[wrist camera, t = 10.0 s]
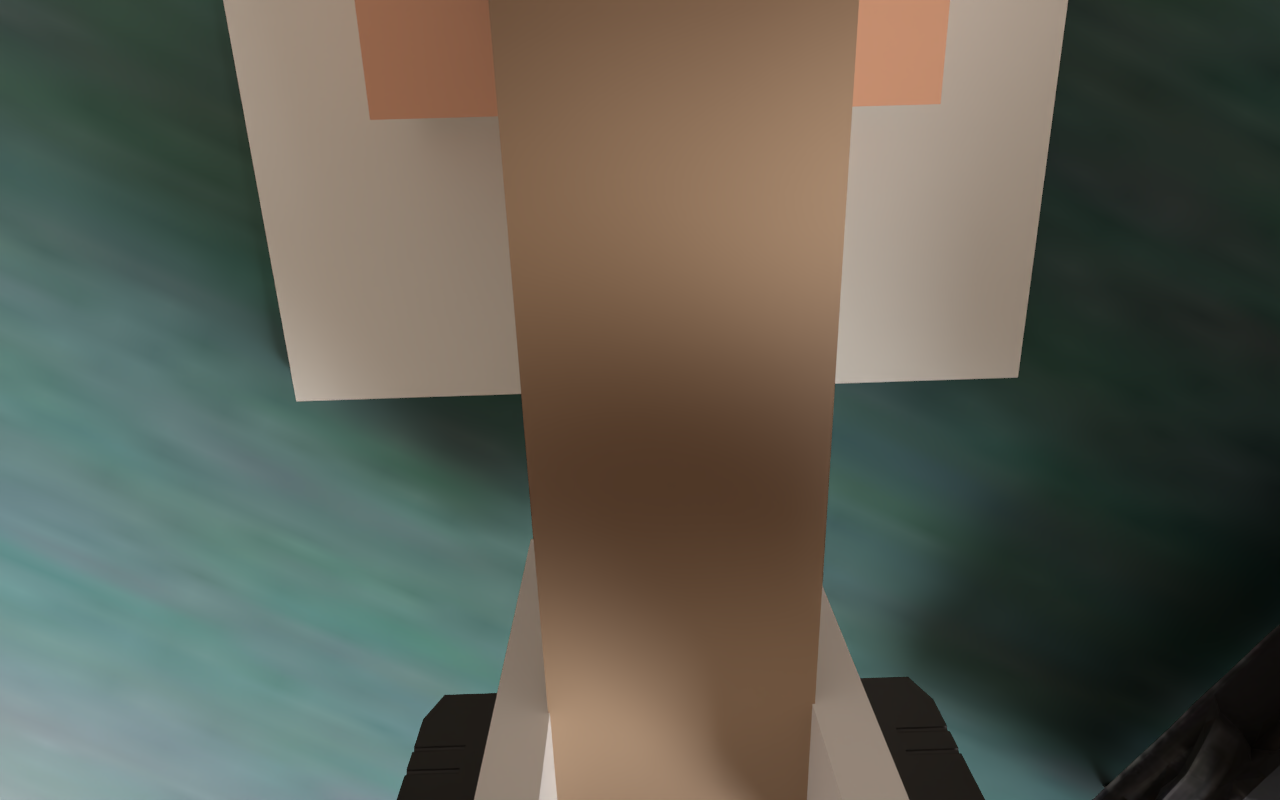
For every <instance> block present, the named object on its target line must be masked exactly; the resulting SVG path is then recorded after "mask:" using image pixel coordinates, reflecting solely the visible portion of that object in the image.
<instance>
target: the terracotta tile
mask: <svg viewBox="0 0 1280 800" xmlns="http://www.w3.org/2000/svg"><path fill="white" fill-rule="evenodd" d="M354 1H355V8H356V16H357V24H358V31H359V39H360V47H361V54H362V62H363V70H364V77H365V85H366V93H367V100H368V108H369V116H370V120H385V119H422V118H458V117H494V116H498V110H497V98H496V86H495V74H494V62H493V50H492V38H491V26H490V14H489V2H488V0H354ZM949 7H950V0H859V9H858V25H857V41H856V57H855V73H854V89H853V105H852V107H855V106H892V105H928V104H941V94H942V83H943V72H944V61H945V50H946V39H947V29H948V18H949Z"/></svg>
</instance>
